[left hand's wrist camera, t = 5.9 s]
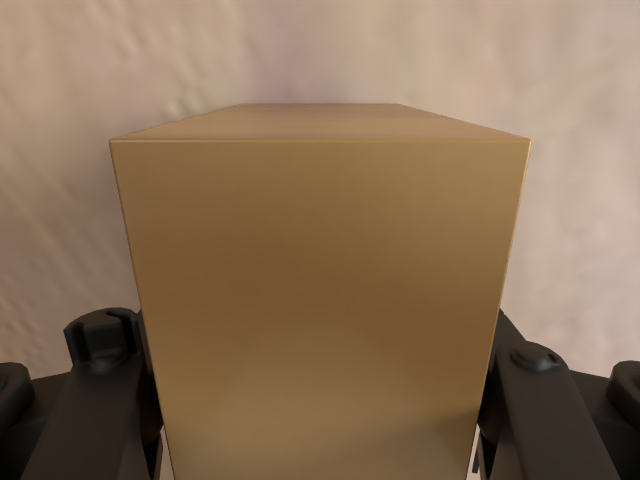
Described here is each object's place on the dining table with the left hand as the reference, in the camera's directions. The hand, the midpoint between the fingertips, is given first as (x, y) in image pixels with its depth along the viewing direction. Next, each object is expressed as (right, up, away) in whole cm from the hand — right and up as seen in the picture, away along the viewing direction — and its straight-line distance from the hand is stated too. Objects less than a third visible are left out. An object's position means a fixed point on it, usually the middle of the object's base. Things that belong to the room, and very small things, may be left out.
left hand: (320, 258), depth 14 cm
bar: (0, -20, +9) cm, 22 cm away
